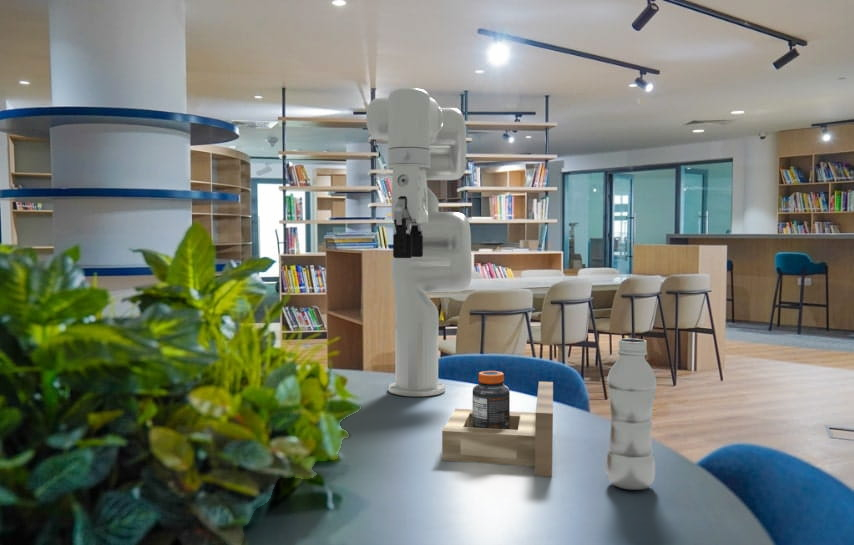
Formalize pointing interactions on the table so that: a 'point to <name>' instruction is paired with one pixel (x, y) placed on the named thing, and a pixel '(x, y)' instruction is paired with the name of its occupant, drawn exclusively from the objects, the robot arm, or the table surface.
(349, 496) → the table surface
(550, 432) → the backstop wall
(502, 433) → the socket block
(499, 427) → the pill bottle
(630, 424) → the plastic bottle
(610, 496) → the table surface
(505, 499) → the table surface
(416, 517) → the table surface
